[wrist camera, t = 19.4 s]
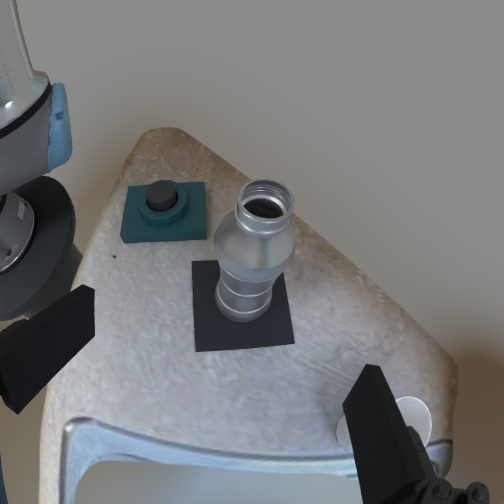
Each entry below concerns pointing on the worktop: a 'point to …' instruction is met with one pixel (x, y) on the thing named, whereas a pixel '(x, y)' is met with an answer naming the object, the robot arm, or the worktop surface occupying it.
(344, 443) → the white cup
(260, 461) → the worktop surface
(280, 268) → the silver bottle
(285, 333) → the mat
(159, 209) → the button
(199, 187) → the teal pump base
